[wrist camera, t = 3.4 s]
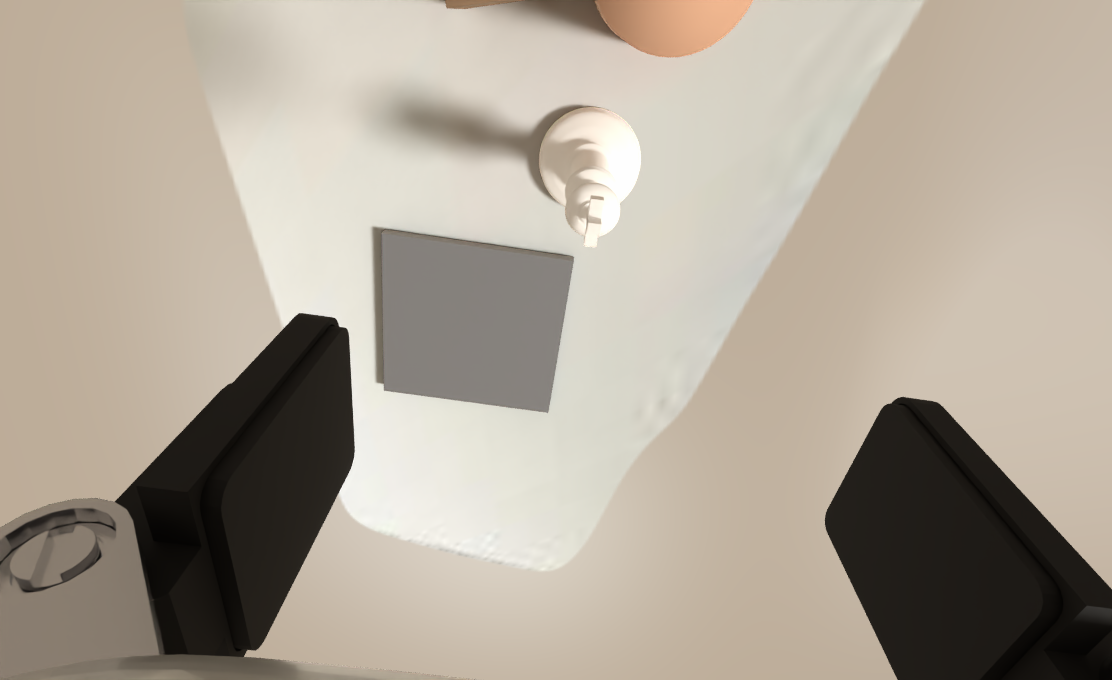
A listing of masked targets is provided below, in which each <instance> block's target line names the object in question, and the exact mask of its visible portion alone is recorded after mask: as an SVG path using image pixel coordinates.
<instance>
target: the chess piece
mask: <svg viewBox="0 0 1112 680" xmlns="http://www.w3.org/2000/svg"><path fill="white" fill-rule="evenodd" d="M640 164H641V152H640V146H639V143H638V140H637V137H636V135H635V133H634V131H633V130H632V128H631V127H630V126H629V124H628V123H627V122H626V121H625V120H624V119H622V118H621V117H620V116H618V115H617V114H615V113H613V112H611V111H609V110H606V109H603V108H597V107H585V108H579V109H576V110H573V111H570V112H568V113H566V114H565V115H563V116H562V117H560V118H559V119H558V120H557V121H556V122H555V123H554V124H553V125H552V126H551V127H550V128H549V130H548V131H547V133H546V135H545V137H544V139H543V141H542V144H541V147H540V153H539V168H540V173H541V177H542V180H543V182H544V185H545V187H546V188H547V190H548V192H549V193H550V194H551V196H552V197H553V198H554V199H555V200H556V201H557V202H558V203H560V204H561V205H563V206H564V207H565V215H566V219H567V222H568V224H569V225H570V227H571V228H572V229H573V230H574V231H575V232H577V233H578V234H580V235H582V236H585V237H584V246H587V247H595V248H596V245H597V239H598V237H600V236H602V235H604V234H606V233H608V232H609V231H611V230H612V229H613V228H614V226H615V225H616V223H617V222H618V219H619V216H620V202H621V201H622V200H623V199H624V198H625V197H626V196H627V195H628V194H629V193H630V191H631V190H632V188H633V187H634V185H635V183H636V180H637V178H638V174H639V170H640Z"/></svg>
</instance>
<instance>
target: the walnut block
mask: <svg viewBox="0 0 1112 680" xmlns="http://www.w3.org/2000/svg"><path fill="white" fill-rule="evenodd" d="M516 1H523V0H445V2H446V7H447V8H454V9H468V8H474V7H481V6H488V5H495V4H502V3H509V2H516Z"/></svg>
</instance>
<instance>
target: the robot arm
mask: <svg viewBox="0 0 1112 680" xmlns="http://www.w3.org/2000/svg"><path fill="white" fill-rule="evenodd" d="M354 452H355V446H354V426H353V407H352V387H351V367H350V348H349V334H348V330H347V329H346V328H343V327H339V325H338V322H337V320H336V319H335V318H332V317H325V316H318V315H311V314H304V313H299V314H298V315H296V316H295V317H294V318H293V319H292V320H291V321H290V322H289V324H288V325H287V326H286V327H285V328H284V329H283V330H282V331H281V332H280V333H279V334H278V335H277V336H276V337H275V338H274V339H273V341H272V342H271V343H270V344H269V345H268V346H267V347H266V348H265V349H264V350H263V351H262V352H261V353H260V354H259V356H258V357H257V358H256V359H255V360H254V361H253V362H252V363H251V364H250V365H249V366H248V367H247V368H246V369H245V370H244V372H242V373H241V374H240V376H239V377H238V378H237V379H236V380H235V381H234V382H233V383H232V384H228V385H227V386H226V387H225V388H223V389H222V390H221V391H220V392H219V393H218V394H217V395H216V396H215V397H214V398H213V399H212V400H211V402H210V403H209V404H208V405H207V406H206V407H205V408H204V409H203V410H202V411H201V412H200V413H199V414H198V415H197V416H196V417H195V418H194V420H192V422H190V424H189V425H188V426H187V427H186V428H185V429H184V430H183V431H182V432H181V433H180V434H179V435H178V436H177V437H176V438H175V439H174V440H173V441H172V442H171V443H170V444H169V446H168V447H167V448H166V449H165V450H164V451H163V452H162V453H161V454H160V455H159V456H158V457H157V458H156V459H155V460H154V461H153V462H152V463H151V465H149V466H148V468H147V469H146V470H145V471H144V472H143V473H142V474H141V475H140V476H139V477H138V478H137V479H136V480H135V481H134V482H133V483H132V484H131V485H130V486H129V488H128V489H127V490H126V491H125V492H124V493H123V494H122V495H121V496H120V497H119V498H118V499H117V500H116V501H115V502H113V501H108V500H102V499H98V498H88V499H72V500H67V501H63V502H58V503H54V504H49V505H47V506H44V507H41V508H39V509H36V510H33V511H31V512H28V513H25V514H23V515H22V516H20V517H18V518H16V519H14V520H13V521H11V522H9V523H7V524H5V525H4V526H2V527H0V680H475V679H465V678H456V677H447V676H438V675H429V674H420V673H411V672H402V671H392V670H382V669H372V668H361V667H350V666H339V665H329V664H318V663H307V662H297V661H286V660H275V659H264V658H251V657H244V655H245V653H246V651H247V650H257V649H258V648H259V647H260V646H261V645H262V643H263V642H264V640H265V638H266V636H267V634H268V632H269V630H270V628H271V626H272V624H273V622H274V620H275V618H276V616H277V614H278V612H279V610H280V608H281V606H282V604H283V602H284V600H285V598H286V596H287V594H288V592H289V590H290V588H291V586H292V584H293V582H294V580H295V578H296V576H297V575H298V572H299V571H300V569H301V567H302V565H303V563H304V561H305V559H306V557H307V554H308V553H309V551H310V549H311V547H312V545H313V543H314V541H315V538H316V537H317V535H318V533H319V531H320V529H321V527H322V525H323V523H324V521H325V519H326V517H327V515H328V513H329V511H330V509H331V507H332V505H333V503H334V501H335V499H336V497H337V495H338V493H339V491H340V489H341V487H342V485H343V483H344V481H345V479H346V477H347V475H348V473H349V471H350V469H351V466H352V463H353V459H354ZM825 526H826V530H827V533H828V535H829V537H830V539H831V541H832V544H833V546H834V548H835V550H836V552H837V554H838V556H839V558H840V560H841V562H842V564H843V567H844V568H845V571H846V573H847V575H848V577H849V579H850V581H851V583H852V585H853V587H854V590H855V592H856V594H857V596H858V598H859V600H860V602H861V604H862V606H863V608H864V610H865V613H866V615H867V617H868V619H869V621H870V623H871V625H872V627H873V629H874V631H875V633H876V636H877V638H878V640H879V642H880V644H881V646H882V648H883V650H884V652H885V654H886V656H887V658H888V661H889V663H890V665H891V667H892V669H893V671H894V673H895V675H896V677H897V679H898V680H1112V589H1111V588H1110V587H1109V586H1108V585H1107V584H1106V583H1105V582H1104V580H1103V579H1102V578H1101V577H1100V576H1099V575H1098V574H1097V573H1096V572H1095V571H1094V570H1093V569H1092V568H1091V566H1090V565H1089V564H1088V563H1087V562H1086V561H1085V560H1084V559H1083V558H1082V557H1081V556H1080V555H1079V553H1078V552H1077V551H1076V550H1075V549H1074V548H1073V547H1072V546H1071V545H1070V544H1069V543H1068V542H1067V541H1066V539H1065V538H1064V537H1063V536H1062V535H1061V534H1060V533H1059V532H1058V531H1057V530H1056V529H1055V528H1054V526H1053V525H1052V524H1051V523H1050V522H1049V521H1048V520H1047V519H1046V518H1045V517H1044V516H1043V515H1042V514H1041V512H1040V511H1039V510H1038V509H1037V508H1036V507H1035V506H1034V505H1033V504H1032V503H1031V502H1030V501H1029V499H1028V498H1027V497H1026V496H1025V495H1024V494H1023V493H1022V492H1021V491H1020V490H1019V489H1018V488H1017V487H1016V486H1015V484H1014V483H1013V482H1012V481H1011V480H1010V479H1009V478H1008V477H1007V476H1006V475H1005V474H1004V472H1003V471H1002V470H1001V469H1000V468H999V467H998V466H997V465H996V464H995V463H994V462H993V461H992V460H991V458H990V457H989V456H988V455H986V453H985V452H984V451H983V450H982V449H981V448H980V447H979V445H977V443H976V442H975V441H974V440H973V439H972V438H971V437H970V436H969V435H968V434H967V433H966V431H965V430H964V429H963V428H962V427H961V426H960V425H959V424H958V423H957V422H956V421H955V420H954V418H952V416H951V415H950V414H949V413H948V412H947V411H946V410H945V409H944V408H943V407H942V406H941V405H940V404H939V403H937V402H933V401H927V400H920V399H913V398H906V397H900V398H897V399H896V400H894V401H893V402H892V403H891V404H887V405H885V406H884V407H883V408H882V409H881V411H880V413H879V415H878V416H877V418H876V420H875V422H874V424H873V426H872V428H871V429H870V431H869V433H868V435H867V437H866V439H865V441H864V442H863V445H862V446H861V448H860V450H859V452H858V454H857V455H856V457H855V459H854V461H853V463H852V465H851V467H850V468H849V470H848V472H847V474H846V476H845V478H844V480H843V481H842V483H841V485H840V487H839V489H838V491H837V493H836V495H835V496H834V498H833V500H832V502H831V504H830V506H829V507H828V509H827V512H826V516H825Z"/></svg>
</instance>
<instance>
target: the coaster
mask: <svg viewBox="0 0 1112 680" xmlns="http://www.w3.org/2000/svg"><path fill="white" fill-rule="evenodd" d="M381 244H382V304H383V364H384V391H391V392H399V393H406V394H414V395H421V396H428V397H436V398H443V399H451V400H458V401H465V402H473V403H480V404H488V405H495V406H502V407H510V408H517V409H525V410H532V411H539V412H547V413H548V411H549V405H550V399H551V393H552V387H553V381H554V375H555V369H556V363H557V357H558V351H559V345H560V339H561V333H562V327H563V321H564V315H565V309H566V303H567V297H568V291H569V285H570V279H571V273H572V268H573V262H574V257H571V256H564V255H557V254H551V253H544V252H537V251H530V250H523V249H516V248H510V247H503V246H496V245H489V244H482V243H475V242H468V241H462V240H455V239H448V238H441V237H434V236H427V235H421V234H414V233H407V232H400V231H393V230H386V229H385V230H384V231H383V232H382V233H381Z"/></svg>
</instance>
